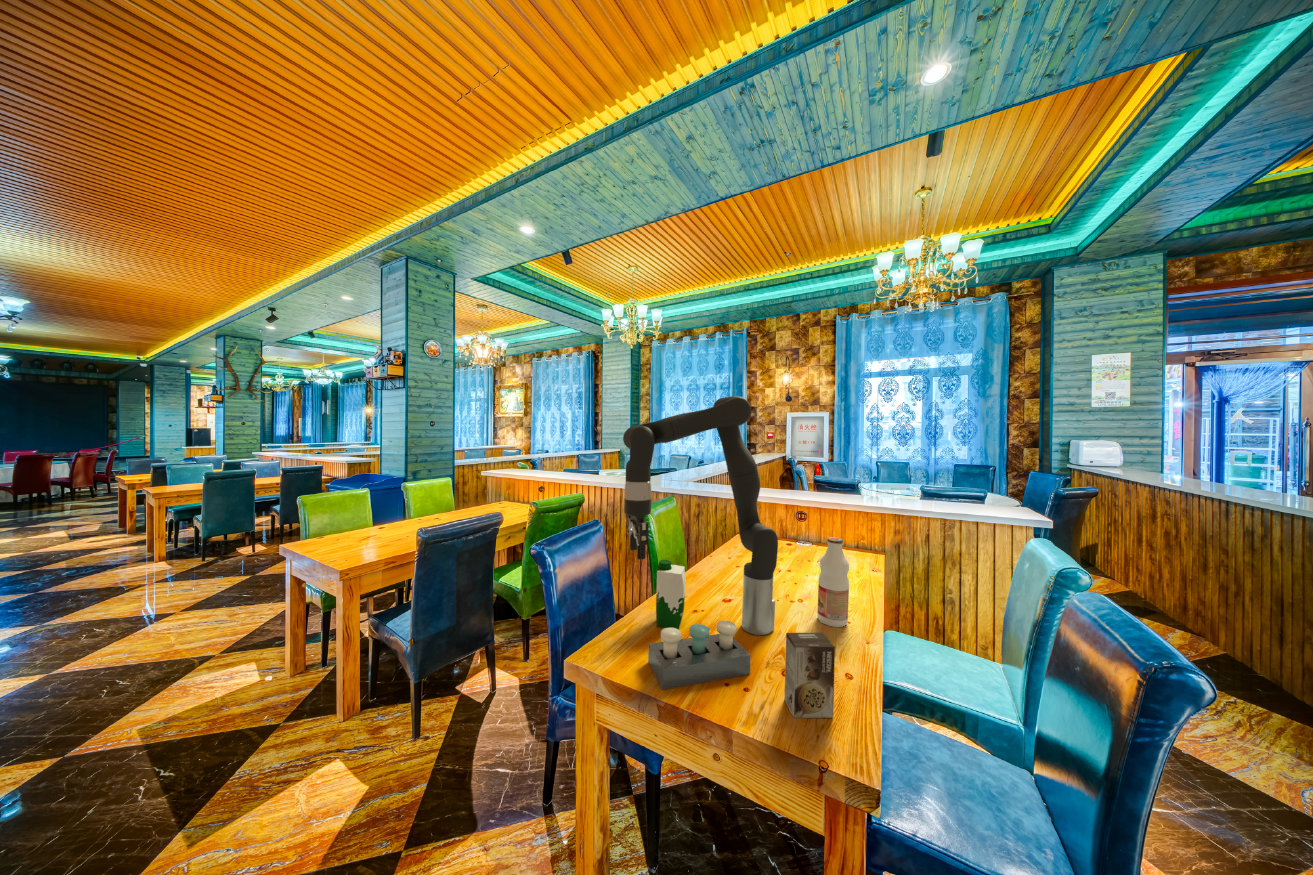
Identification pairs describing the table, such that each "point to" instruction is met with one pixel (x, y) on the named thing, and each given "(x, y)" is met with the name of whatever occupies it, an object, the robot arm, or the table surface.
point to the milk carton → (670, 595)
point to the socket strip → (698, 663)
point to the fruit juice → (833, 585)
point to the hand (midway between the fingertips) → (637, 554)
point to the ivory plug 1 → (670, 642)
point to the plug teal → (699, 638)
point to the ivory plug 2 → (726, 634)
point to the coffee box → (809, 675)
